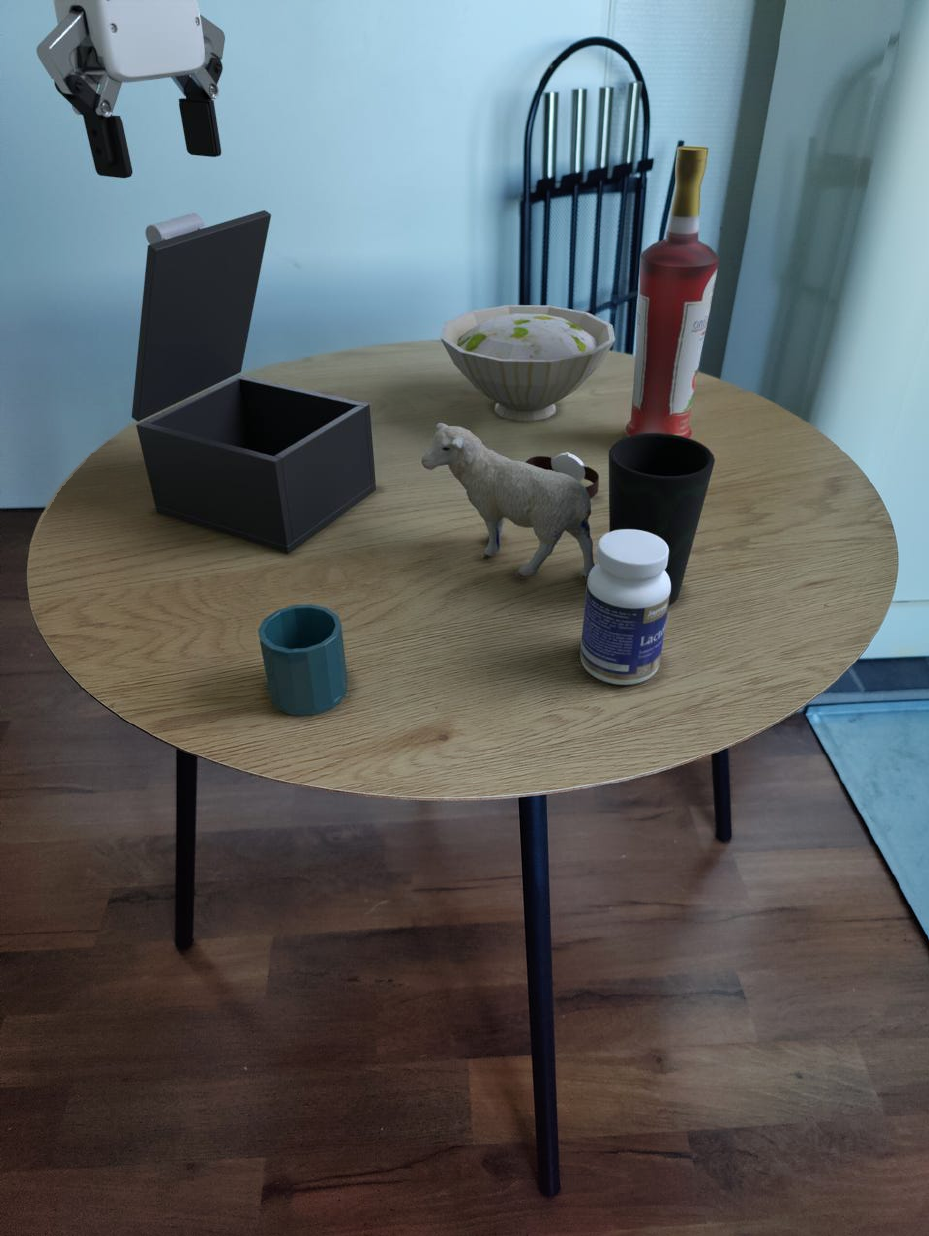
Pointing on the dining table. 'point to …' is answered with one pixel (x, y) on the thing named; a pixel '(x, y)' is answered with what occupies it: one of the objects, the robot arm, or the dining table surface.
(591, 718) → the dining table surface
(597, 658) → the pill bottle
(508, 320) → the bowl
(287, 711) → the creamer cup
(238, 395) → the dark gray hinged chest
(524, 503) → the figurine
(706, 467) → the cup
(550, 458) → the watch
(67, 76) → the robot arm
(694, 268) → the liquor
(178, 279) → the chest lid
